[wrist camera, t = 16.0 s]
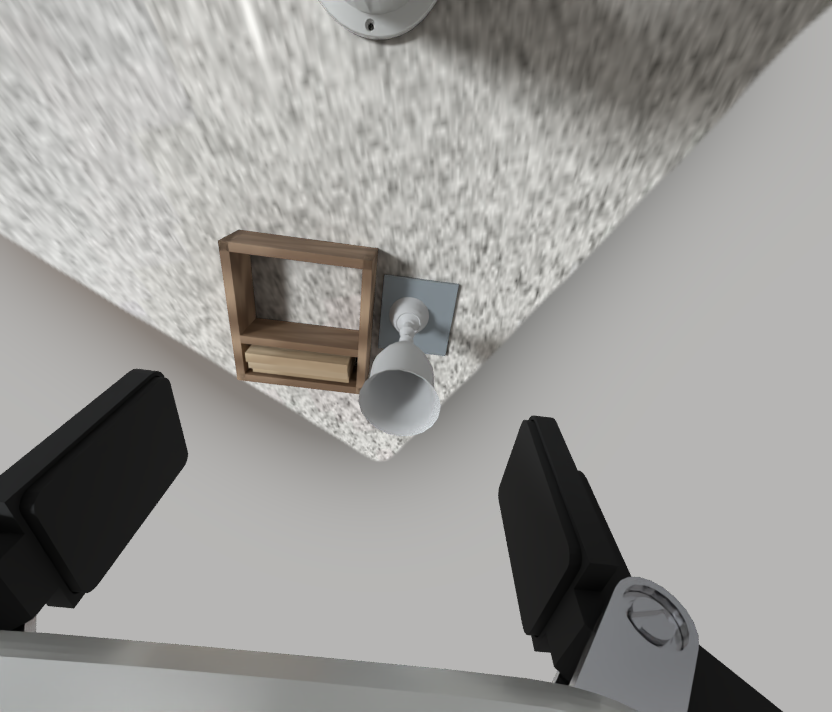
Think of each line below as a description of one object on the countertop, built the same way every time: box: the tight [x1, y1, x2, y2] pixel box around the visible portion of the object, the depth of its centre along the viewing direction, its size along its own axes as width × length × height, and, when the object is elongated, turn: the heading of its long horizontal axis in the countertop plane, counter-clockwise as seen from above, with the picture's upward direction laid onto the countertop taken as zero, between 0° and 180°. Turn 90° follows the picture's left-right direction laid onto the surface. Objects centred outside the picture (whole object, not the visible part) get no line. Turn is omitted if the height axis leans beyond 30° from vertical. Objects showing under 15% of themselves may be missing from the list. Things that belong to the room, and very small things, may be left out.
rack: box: [218, 230, 378, 394], centre depth 46 cm, size 18×16×5 cm
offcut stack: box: [245, 345, 355, 383], centre depth 48 cm, size 4×12×6 cm, turn 83°
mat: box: [378, 274, 459, 356], centre depth 48 cm, size 10×9×1 cm
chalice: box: [359, 297, 440, 436], centre depth 40 cm, size 7×7×18 cm
